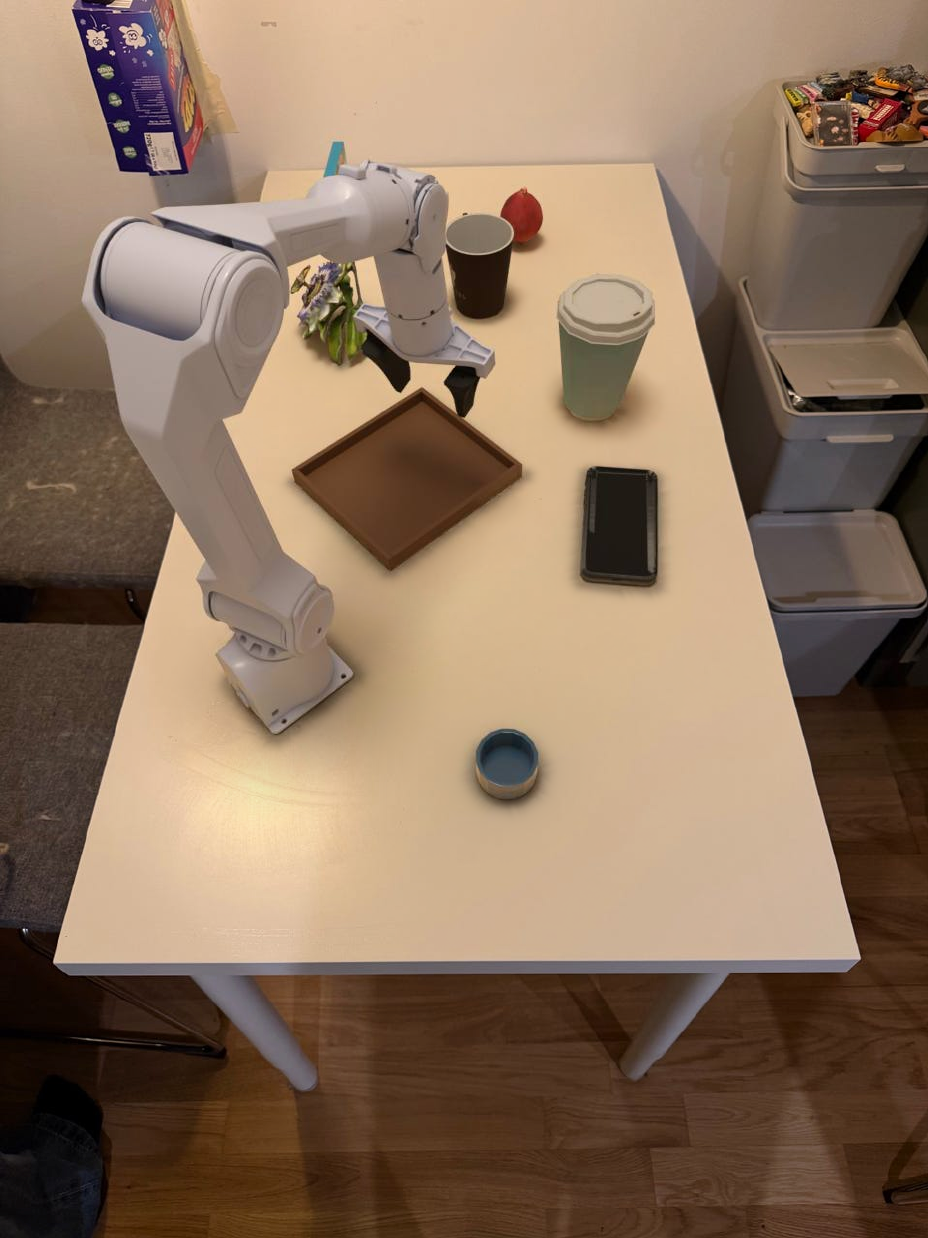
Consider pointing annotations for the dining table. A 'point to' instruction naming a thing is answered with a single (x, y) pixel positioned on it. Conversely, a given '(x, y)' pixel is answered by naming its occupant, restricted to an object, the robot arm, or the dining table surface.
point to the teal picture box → (335, 159)
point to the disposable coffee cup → (601, 341)
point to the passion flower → (331, 307)
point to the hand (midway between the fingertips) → (434, 397)
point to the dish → (506, 763)
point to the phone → (620, 526)
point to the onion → (523, 215)
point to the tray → (406, 476)
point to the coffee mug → (479, 262)
